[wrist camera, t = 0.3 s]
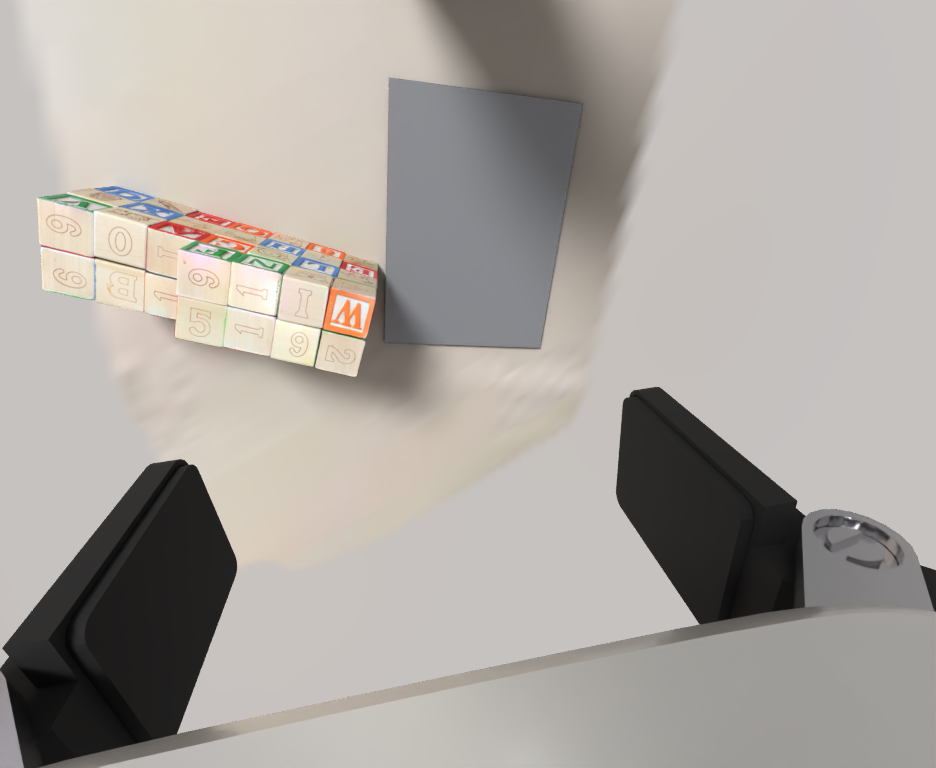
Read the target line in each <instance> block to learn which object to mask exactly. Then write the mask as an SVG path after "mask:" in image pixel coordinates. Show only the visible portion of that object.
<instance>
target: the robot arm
mask: <svg viewBox="0 0 936 768" xmlns="http://www.w3.org/2000/svg"><path fill="white" fill-rule="evenodd" d="M616 495H617V499H618V502H619V505H620V507H621V508H622V510H623V511H624V513H625V514H626V516H627V517H628V519H629V520H630V522H631V523H632V525H633V526H634V527H635V529H636V531H637V532H638V533H639V535H640V536H641V538H642V539H643V541H644V542H645V544H646V545H647V547H648V548H649V550H650V551H651V553H652V554H653V556H654V557H655V559H656V560H657V562H658V563H659V564H660V566H661V568H662V569H663V570H664V572H665V573H666V575H667V577H668V578H669V579H670V581H671V582H672V584H673V585H674V587H675V588H676V590H677V591H678V593H679V594H680V596H681V597H682V599H683V600H684V602H685V603H686V605H687V606H688V607H689V609H690V611H691V612H692V613H693V615H694V617H695V618H696V620H697V621H698V623H699V624H700V625H696V626H691V627H685V628H680V629H675V630H670V631H665V632H660V633H655V634H650V635H645V636H641V637H635V638H631V639H626V640H621V641H616V642H611V643H606V644H601V645H596V646H592V647H586V648H581V649H577V650H572V651H567V652H563V653H557V654H552V655H547V656H543V657H537V658H533V659H528V660H523V661H518V662H513V663H509V664H504V665H499V666H494V667H489V668H485V669H480V670H475V671H470V672H465V673H461V674H456V675H451V676H446V677H442V678H437V679H433V680H427V681H423V682H418V683H413V684H408V685H404V686H399V687H395V688H389V689H385V690H380V691H375V692H371V693H366V694H361V695H356V696H352V697H347V698H342V699H338V700H333V701H328V702H323V703H319V704H314V705H310V706H305V707H300V708H296V709H291V710H287V711H282V712H278V713H273V714H268V715H263V716H259V717H254V718H249V719H245V720H241V721H236V722H231V723H226V724H221V725H217V726H212V727H208V728H203V729H199V730H194V731H190V732H185V733H180V734H177V732H178V729H179V727H180V724H181V722H182V719H183V716H184V713H185V711H186V708H187V705H188V702H189V700H190V697H191V695H192V692H193V689H194V687H195V684H196V681H197V678H198V675H199V673H200V670H201V668H202V665H203V662H204V659H205V657H206V654H207V652H208V649H209V646H210V643H211V641H212V638H213V635H214V633H215V630H216V627H217V625H218V622H219V619H220V617H221V614H222V611H223V608H224V606H225V603H226V600H227V598H228V595H229V592H230V590H231V587H232V584H233V582H234V579H235V576H236V572H237V561H236V557H235V554H234V552H233V550H232V547H231V545H230V543H229V540H228V538H227V536H226V534H225V531H224V529H223V527H222V524H221V522H220V520H219V517H218V515H217V513H216V510H215V508H214V506H213V503H212V501H211V499H210V496H209V494H208V492H207V489H206V487H205V485H204V482H203V480H202V478H201V475H200V473H199V471H198V469H197V467H196V466H195V465H188V463H187V462H186V461H185V460H182V459H179V460H173V461H166V462H160V463H153V464H150V465H149V466H148V467H146V469H145V470H144V471H143V472H142V474H141V475H140V476H139V477H138V479H137V480H136V481H135V482H134V484H133V485H132V486H131V487H130V489H129V490H128V491H127V493H126V494H125V495H124V496H123V497H122V499H121V500H120V501H119V503H118V504H117V505H116V506H115V508H114V509H113V510H112V511H111V513H110V514H109V515H108V516H107V518H106V519H105V520H104V521H103V523H102V524H101V525H100V526H99V528H98V529H97V530H96V531H95V533H94V534H93V535H92V536H91V538H90V539H89V540H88V542H87V543H86V544H85V545H84V547H83V548H82V549H81V550H80V552H79V553H78V554H77V555H76V557H75V558H74V559H73V560H72V562H71V563H70V564H69V565H68V566H67V568H66V569H65V570H64V571H63V573H62V574H61V575H60V576H59V578H58V579H57V580H56V582H55V583H54V584H53V585H52V587H51V588H50V589H49V590H48V592H47V593H46V594H45V595H44V597H43V598H42V599H41V600H40V602H39V603H38V604H37V605H36V607H35V608H34V609H33V611H32V612H31V613H30V614H29V615H28V617H27V618H26V619H25V620H24V622H23V623H22V624H21V626H20V627H19V628H18V629H17V630H16V632H15V633H14V634H13V636H12V637H11V638H10V639H9V641H8V642H7V643H6V644H5V645H4V647H3V650H4V651H5V652H6V653H7V654H8V656H9V658H8V659H7V660H6V662H5V663H4V664H3V665H2V667H1V668H0V768H936V570H934V569H930V568H927V567H924V566H921V565H920V564H919V561H918V557H917V555H916V553H915V552H914V550H913V548H912V546H911V545H910V544H909V543H908V542H906V540H905V539H904V538H903V537H902V536H901V535H899V534H898V533H896V532H895V531H893V530H892V529H890V528H889V527H887V526H886V525H884V524H882V523H879V522H877V521H875V520H873V519H871V518H869V517H865V516H863V515H859V514H856V513H853V512H849V511H843V510H837V509H830V510H829V509H823V510H818V511H814V512H811V513H809V514H808V515H807V516H805V515H803V514H802V513H801V512H800V511H799V510H798V509H796V504H797V500H796V499H794V498H793V497H792V496H791V495H789V494H788V493H787V492H786V491H785V490H783V489H782V488H781V487H780V486H778V485H777V484H776V483H775V482H774V481H773V480H771V479H770V478H769V477H768V476H766V475H765V474H764V473H763V472H762V471H760V470H759V469H758V468H757V467H756V466H754V465H753V464H752V463H751V462H750V461H748V460H747V459H746V458H745V457H743V456H742V455H741V454H740V453H738V451H736V450H735V449H734V448H733V447H731V446H730V445H729V444H728V443H727V442H725V441H724V440H723V439H722V438H721V437H719V436H718V435H717V434H716V433H714V432H713V431H712V430H711V429H710V428H708V427H707V426H706V425H705V424H703V423H702V422H701V421H700V420H699V419H698V418H696V417H695V416H694V415H692V414H691V413H690V412H689V411H688V410H687V409H685V408H684V407H683V406H682V405H681V404H679V403H678V402H677V401H676V400H675V399H673V398H672V397H671V396H670V395H669V394H667V393H666V392H665V391H664V390H663V389H661V388H659V387H653V388H647V389H641V390H634V391H633V392H631V394H630V397H629V398H626V399H625V400H624V402H623V410H622V423H621V436H620V448H619V461H618V474H617V486H616Z"/></svg>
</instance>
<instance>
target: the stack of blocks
mask: <svg viewBox="0 0 936 768" xmlns="http://www.w3.org/2000/svg"><path fill="white" fill-rule="evenodd" d="M37 205H38V224H39V243H40V244H41V268H42V284H43V289H44V290H46V291H50V292H55V293H60V294H64V295H69V296H73V297H78V298H83V299H88V300H95V301H96V302H98V303H102V304H107V305H111V306H116V307H120V308H125V309H130V310H134V311H138V312H145V313H147V314H150V315H155V316H160V317H165V318H170V319H175V320H176V323H175V338H178V339H183V340H188V341H193V342H198V343H203V344H207V345H212V346H217V347H227V348H231V349H235V350H240V351H245V352H250V353H254V354H259V355H264V356H270V357H271V358H273V359H278V360H282V361H287V362H292V363H296V364H301V365H306V366H310V367H314V366H315V367H316V368H317V369H321V370H325V371H330V372H334V373H339V374H343V375H347V376H352V377H356V376H357V373H358V369H359V365H360V361H361V358H362V354H363V350H364V346H365V343H366V337H367V334H368V330H369V326H370V322H371V318H372V314H373V310H374V306H375V301H376V293H377V288H378V287H377V286H378V285H377V284H378V280H377V271H378V264H377V263H374V262H371V261H368V260H364V259H361V258H358V257H354V256H351V255H348V254H345V253H344V252H341V251H337V250H334V249H331V248H327V247H324V246H321V245H317V244H314V243H310V242H307V241H304V240H301V239H298V238H294V237H291V236H287V235H284V234H281V233H277V232H275V233H272V232H269V231H266V230H262V229H259V228H255V227H252V226H249V225H245V224H242V223H235V222H232V221H229V220H226V219H223V218H219V217H215V216H212V215H209V214H205V213H202V212H198V210H196V209H193V208H190V207H187V206H183V205H180V204H176V203H173V202H170V201H166V200H163V199H159V198H154V197H151V196H148V195H144V194H141V193H137V192H134V191H130V190H127V189H123V188H120V187H116V186H111V187H103V188H95V189H83V190H76V191H69V192H67V194H59V195H53V196H44V197H39V198H37Z"/></svg>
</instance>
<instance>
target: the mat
mask: <svg viewBox="0 0 936 768" xmlns="http://www.w3.org/2000/svg"><path fill="white" fill-rule="evenodd" d="M582 105H583V104H580V103H573V102H566V101H558V100H551V99H543V98H536V97H529V96H521V95H514V94H507V93H499V92H492V91H485V90H477V89H470V88H462V87H455V86H448V85H440V84H433V83H426V82H418V81H411V80H404V79H396V78H389V114H388V173H387V232H386V290H385V343H409V344H438V345H468V346H497V347H527V348H540V344H541V339H542V333H543V327H544V321H545V316H546V310H547V304H548V299H549V293H550V287H551V282H552V276H553V270H554V265H555V259H556V253H557V248H558V242H559V236H560V230H561V225H562V219H563V213H564V208H565V202H566V196H567V191H568V185H569V179H570V174H571V168H572V162H573V157H574V151H575V145H576V139H577V134H578V128H579V122H580V117H581V111H582Z"/></svg>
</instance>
